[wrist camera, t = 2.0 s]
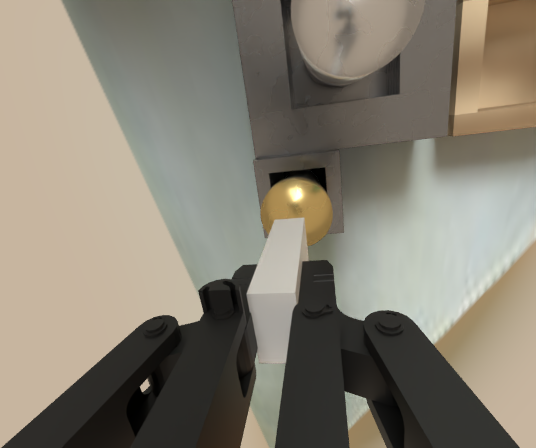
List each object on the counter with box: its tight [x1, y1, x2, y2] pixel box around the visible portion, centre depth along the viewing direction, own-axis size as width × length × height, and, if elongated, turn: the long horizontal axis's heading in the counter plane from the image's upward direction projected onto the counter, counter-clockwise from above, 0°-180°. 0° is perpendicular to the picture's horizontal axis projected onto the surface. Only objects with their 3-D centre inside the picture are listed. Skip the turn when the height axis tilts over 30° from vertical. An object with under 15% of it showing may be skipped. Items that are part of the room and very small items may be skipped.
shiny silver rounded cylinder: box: [291, 0, 425, 89], centre depth 17 cm, size 5×5×12 cm
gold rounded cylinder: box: [261, 169, 333, 246], centre depth 22 cm, size 4×4×7 cm
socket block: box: [232, 0, 457, 238], centre depth 23 cm, size 19×13×8 cm
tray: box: [447, 0, 536, 136], centre depth 22 cm, size 10×10×4 cm
